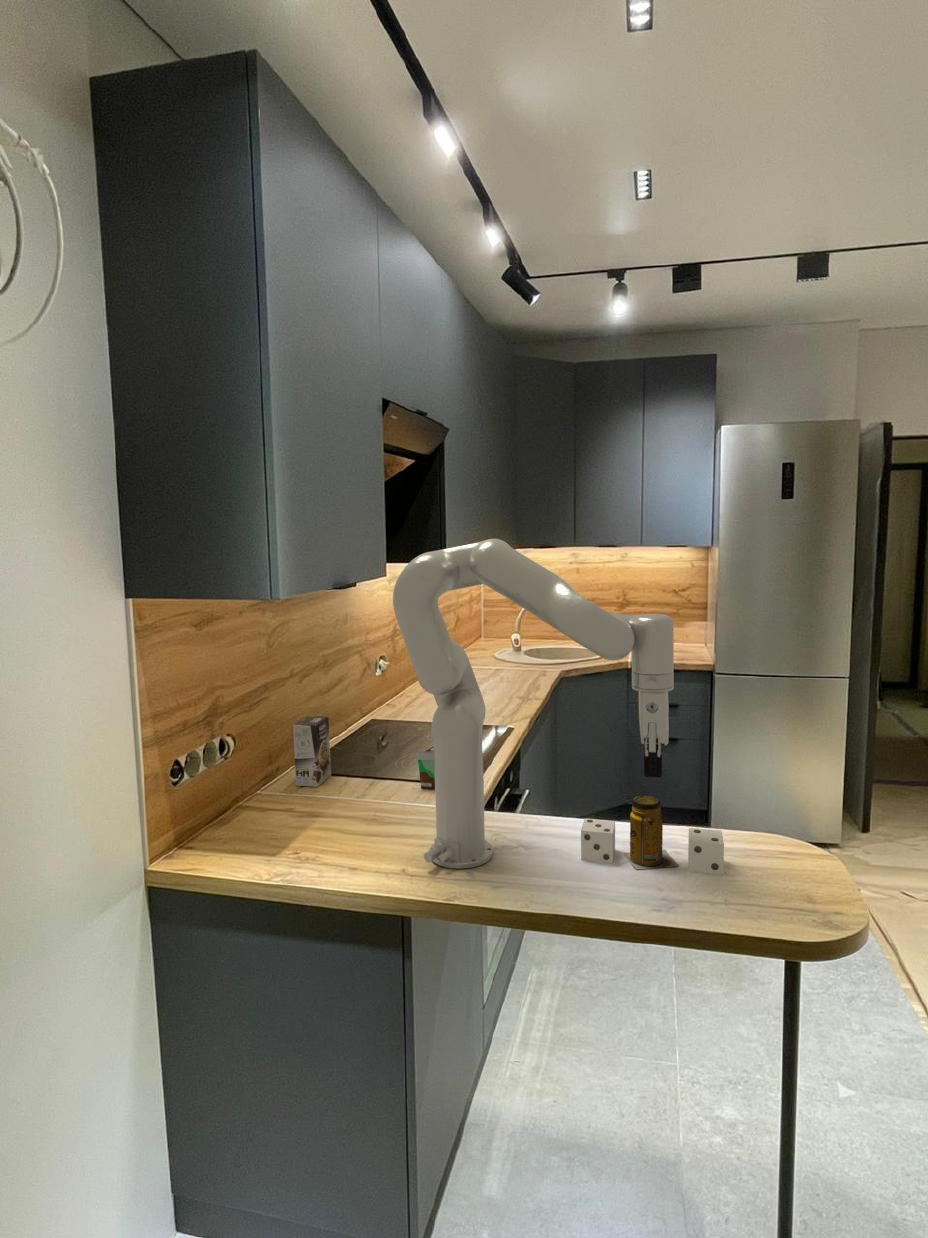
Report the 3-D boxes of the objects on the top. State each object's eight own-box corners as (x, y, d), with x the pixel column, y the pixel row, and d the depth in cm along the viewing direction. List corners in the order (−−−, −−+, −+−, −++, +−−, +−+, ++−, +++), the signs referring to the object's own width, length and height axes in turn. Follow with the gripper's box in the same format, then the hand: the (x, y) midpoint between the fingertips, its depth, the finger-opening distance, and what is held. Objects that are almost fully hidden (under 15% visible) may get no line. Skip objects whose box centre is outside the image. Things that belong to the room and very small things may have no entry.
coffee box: (318, 787, 182) (315, 725, 180) (295, 786, 184) (291, 724, 182) (332, 775, 191) (329, 715, 189) (309, 774, 193) (306, 715, 191)
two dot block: (723, 875, 132) (724, 843, 131) (689, 872, 134) (689, 840, 133) (721, 860, 138) (721, 830, 137) (688, 857, 140) (688, 827, 139)
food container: (436, 795, 175) (435, 755, 174) (417, 790, 179) (415, 751, 178) (466, 780, 185) (465, 742, 184) (448, 776, 189) (447, 738, 187)
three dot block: (612, 863, 138) (612, 833, 137) (581, 860, 139) (580, 830, 139) (615, 850, 144) (615, 820, 143) (584, 847, 145) (584, 818, 144)
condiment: (623, 853, 142) (623, 794, 140) (665, 850, 143) (665, 792, 141) (635, 870, 135) (636, 809, 133) (679, 867, 135) (680, 806, 134)
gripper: (673, 690, 126) (674, 791, 128) (673, 673, 140) (673, 764, 143) (629, 689, 128) (630, 788, 130) (633, 672, 142) (634, 762, 145)
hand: (653, 775), depth 137 cm, fingers closed
